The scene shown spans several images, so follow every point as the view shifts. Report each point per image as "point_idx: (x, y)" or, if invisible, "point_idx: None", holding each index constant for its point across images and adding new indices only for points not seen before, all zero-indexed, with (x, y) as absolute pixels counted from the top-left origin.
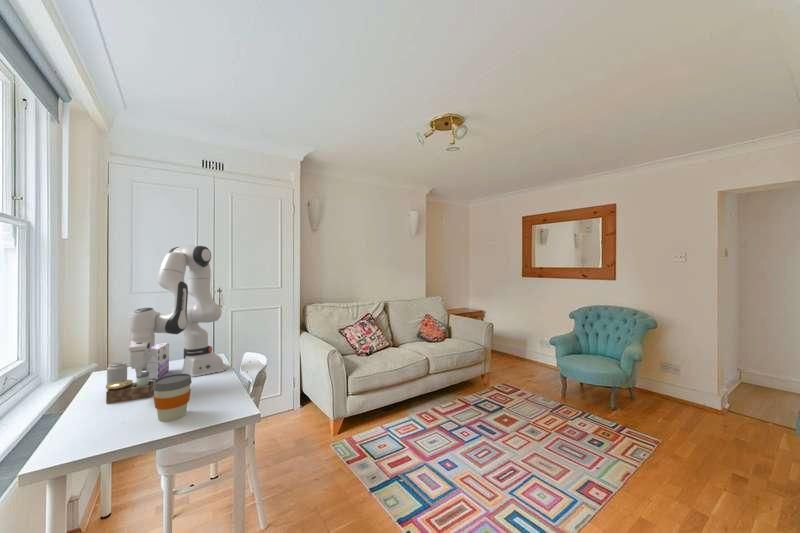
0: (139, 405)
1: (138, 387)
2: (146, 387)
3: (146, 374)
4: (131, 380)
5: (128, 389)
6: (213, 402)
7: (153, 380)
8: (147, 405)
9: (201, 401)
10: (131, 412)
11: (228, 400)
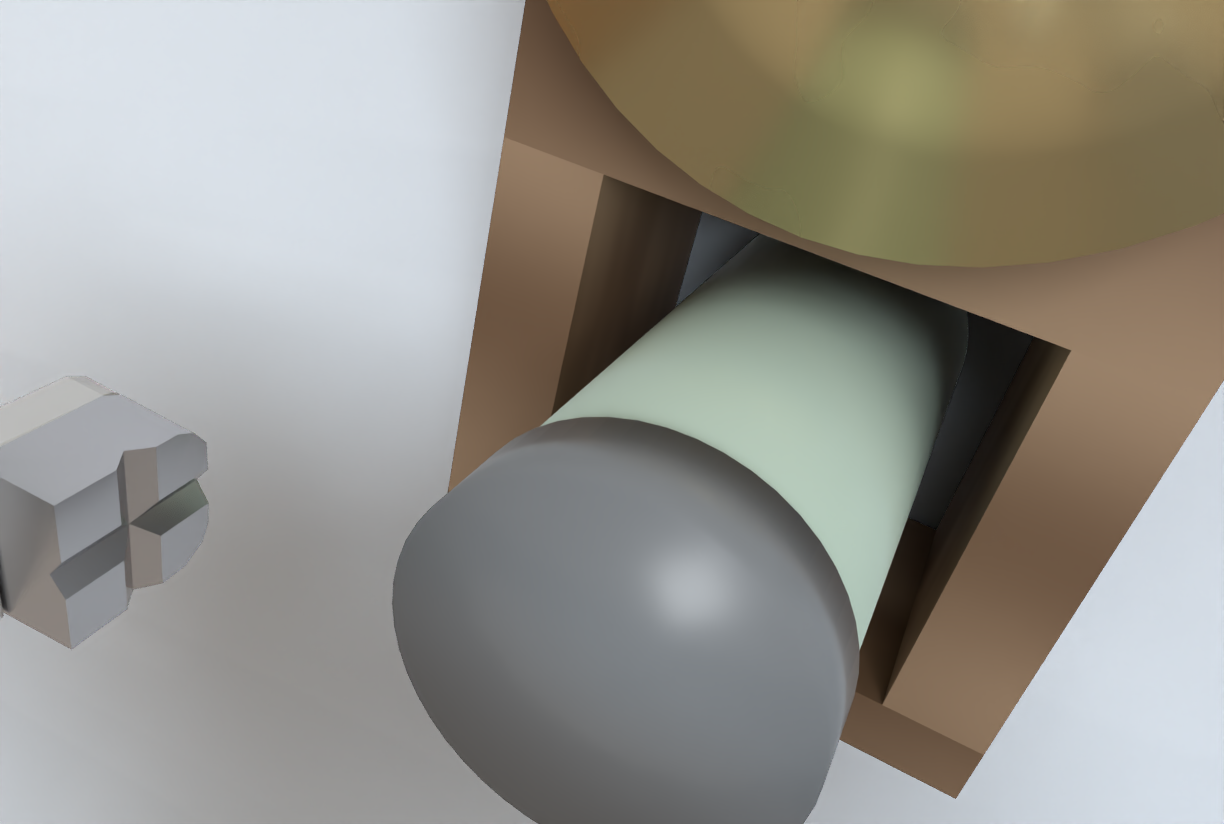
0: (247, 167)
1: (497, 299)
2: (467, 442)
3: (441, 704)
4: (1017, 238)
5: (523, 49)
6: (17, 739)
7: (923, 745)
8: (193, 265)
9: (76, 703)
10: (18, 23)
11: (20, 819)
